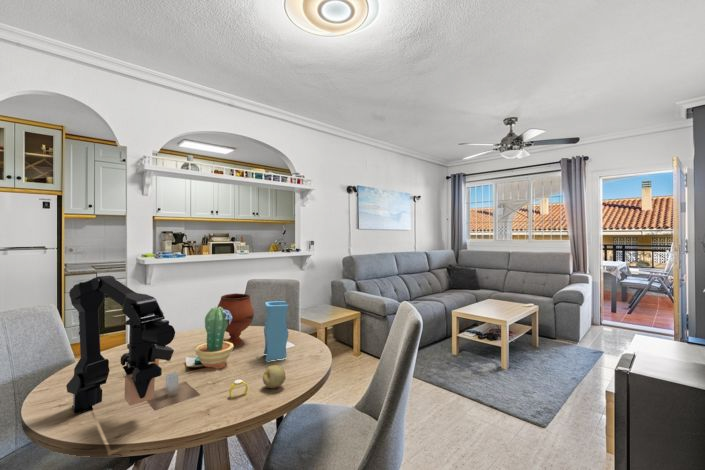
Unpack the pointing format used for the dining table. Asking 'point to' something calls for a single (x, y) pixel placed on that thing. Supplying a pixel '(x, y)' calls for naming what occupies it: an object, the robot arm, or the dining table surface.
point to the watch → (237, 384)
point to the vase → (276, 330)
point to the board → (163, 401)
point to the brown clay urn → (237, 315)
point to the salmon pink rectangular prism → (132, 393)
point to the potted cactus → (215, 339)
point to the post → (171, 384)
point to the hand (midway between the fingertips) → (139, 394)
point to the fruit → (274, 376)
